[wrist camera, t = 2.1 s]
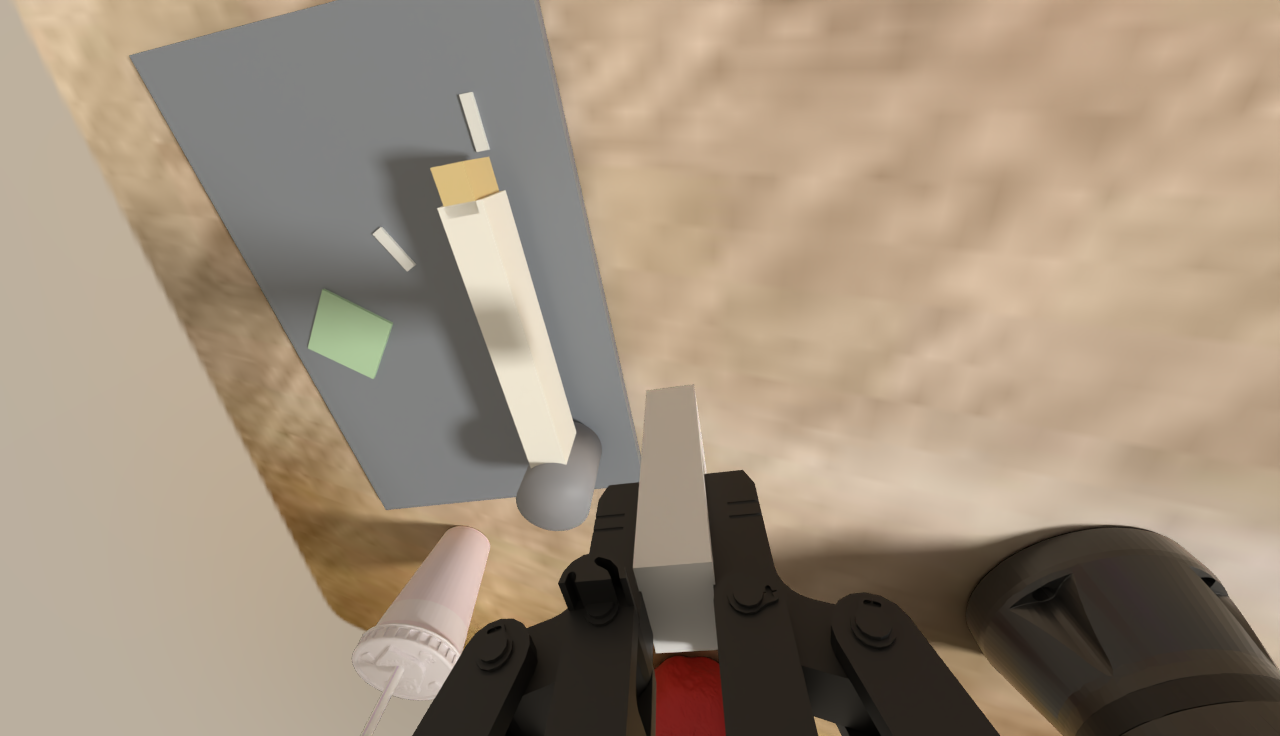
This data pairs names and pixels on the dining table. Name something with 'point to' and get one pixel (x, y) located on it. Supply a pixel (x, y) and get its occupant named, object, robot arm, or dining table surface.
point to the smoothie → (424, 624)
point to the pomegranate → (689, 697)
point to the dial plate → (400, 222)
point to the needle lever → (518, 346)
